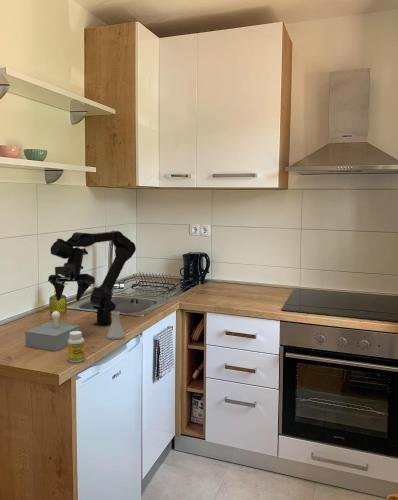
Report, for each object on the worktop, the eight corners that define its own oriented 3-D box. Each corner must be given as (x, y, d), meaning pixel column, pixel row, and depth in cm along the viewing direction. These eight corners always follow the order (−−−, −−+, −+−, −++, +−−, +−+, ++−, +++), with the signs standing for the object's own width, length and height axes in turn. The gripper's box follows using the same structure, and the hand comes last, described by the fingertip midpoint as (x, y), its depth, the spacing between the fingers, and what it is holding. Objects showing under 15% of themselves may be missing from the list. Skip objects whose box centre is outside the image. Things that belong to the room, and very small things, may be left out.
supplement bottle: (81, 356, 158) (80, 329, 157) (87, 360, 154) (86, 333, 153) (66, 359, 155) (65, 331, 154) (71, 364, 151) (70, 336, 150)
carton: (51, 335, 181) (51, 321, 180) (80, 339, 176) (80, 325, 175) (25, 346, 168) (25, 331, 167) (56, 351, 163) (55, 336, 162)
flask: (126, 334, 182) (126, 310, 181) (124, 340, 175) (123, 315, 174) (108, 334, 182) (107, 310, 181) (105, 340, 175) (104, 315, 174)
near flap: (51, 322, 180) (50, 306, 179) (79, 326, 175) (79, 309, 174) (39, 327, 174) (38, 310, 173) (68, 331, 169) (68, 314, 168)
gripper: (42, 257, 178) (34, 295, 173) (81, 255, 171) (74, 295, 166) (60, 265, 188) (53, 302, 183) (98, 263, 181) (92, 302, 176)
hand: (67, 300), depth 177 cm, fingers open, 9 cm apart
